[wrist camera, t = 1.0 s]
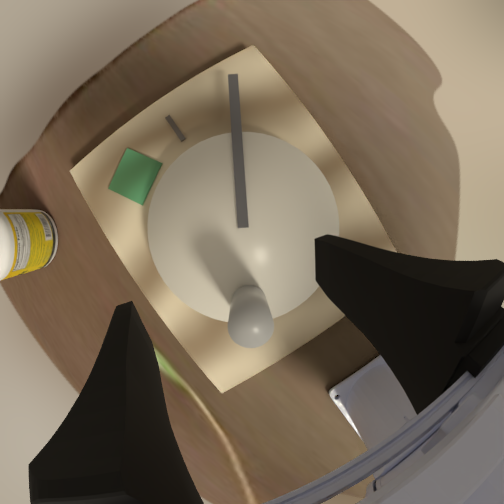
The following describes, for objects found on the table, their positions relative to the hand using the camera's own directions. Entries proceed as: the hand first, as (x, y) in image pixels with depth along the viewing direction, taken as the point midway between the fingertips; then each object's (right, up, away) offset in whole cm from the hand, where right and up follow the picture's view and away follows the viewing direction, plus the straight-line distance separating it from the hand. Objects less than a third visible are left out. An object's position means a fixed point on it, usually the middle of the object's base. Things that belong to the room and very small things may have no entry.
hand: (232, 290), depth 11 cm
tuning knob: (0, +5, +10) cm, 11 cm away
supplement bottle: (-19, +3, +12) cm, 22 cm away
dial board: (0, +4, +12) cm, 13 cm away
